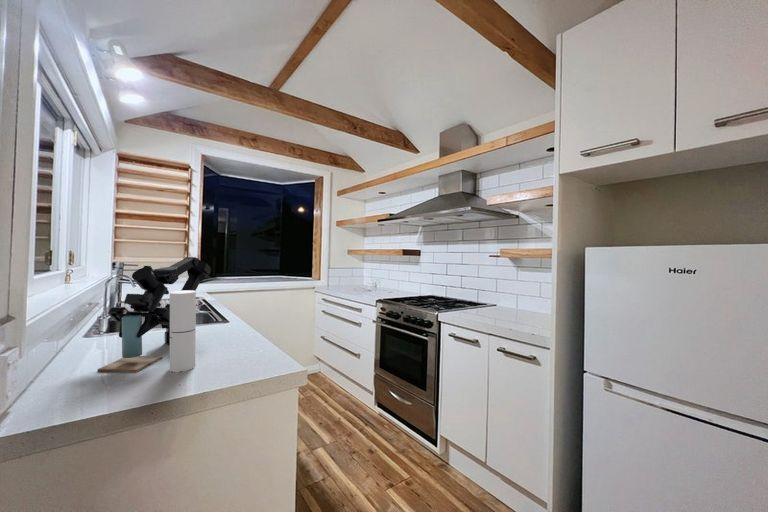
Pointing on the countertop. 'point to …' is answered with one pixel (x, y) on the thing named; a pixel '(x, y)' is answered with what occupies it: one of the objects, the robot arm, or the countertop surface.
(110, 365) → the walnut board
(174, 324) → the cylindrical container
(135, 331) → the cylinder
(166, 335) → the robot arm
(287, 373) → the countertop surface
